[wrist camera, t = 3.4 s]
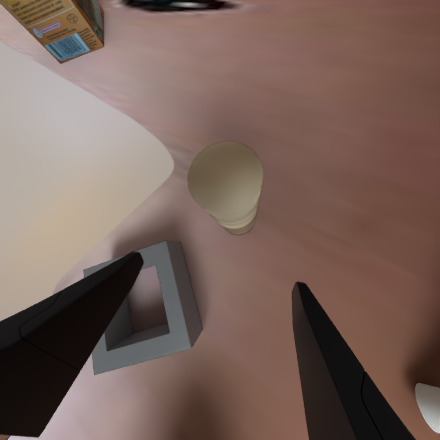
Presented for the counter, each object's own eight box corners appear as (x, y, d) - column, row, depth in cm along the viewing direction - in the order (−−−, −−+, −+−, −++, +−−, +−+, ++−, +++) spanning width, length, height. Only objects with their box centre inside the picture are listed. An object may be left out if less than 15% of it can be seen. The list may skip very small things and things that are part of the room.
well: (202, 329, 20) (191, 348, 16) (123, 352, 21) (94, 375, 17) (180, 242, 22) (165, 240, 18) (110, 266, 23) (83, 269, 19)
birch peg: (260, 228, 21) (275, 196, 9) (227, 239, 21) (199, 223, 9) (248, 197, 22) (247, 130, 10) (217, 209, 22) (180, 157, 10)
